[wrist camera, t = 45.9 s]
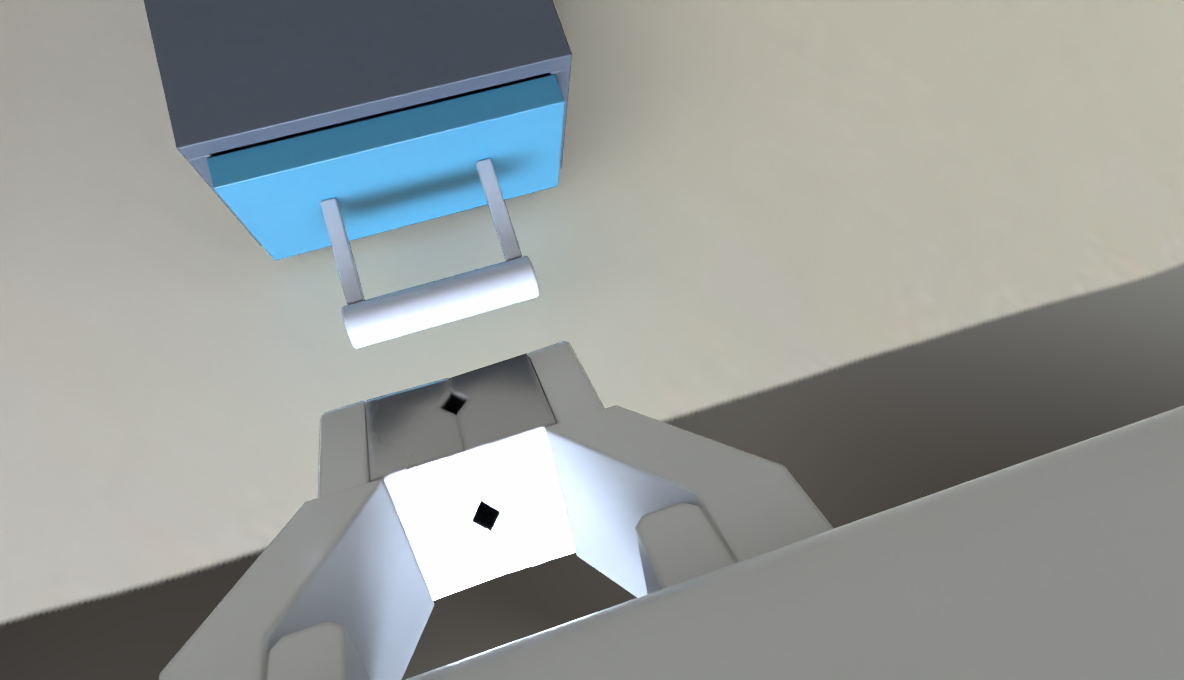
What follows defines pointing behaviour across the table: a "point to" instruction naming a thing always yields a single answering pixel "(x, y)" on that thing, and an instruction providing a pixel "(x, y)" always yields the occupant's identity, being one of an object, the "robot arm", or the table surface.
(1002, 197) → the table surface
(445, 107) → the blue drawer
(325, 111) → the drawer cabinet
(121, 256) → the table surface
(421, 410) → the robot arm
